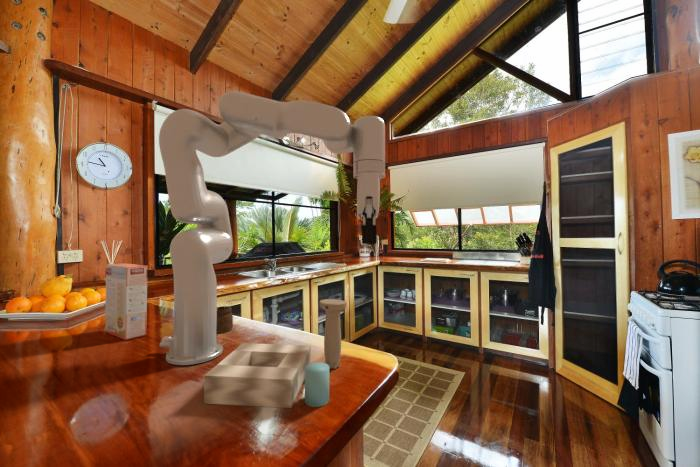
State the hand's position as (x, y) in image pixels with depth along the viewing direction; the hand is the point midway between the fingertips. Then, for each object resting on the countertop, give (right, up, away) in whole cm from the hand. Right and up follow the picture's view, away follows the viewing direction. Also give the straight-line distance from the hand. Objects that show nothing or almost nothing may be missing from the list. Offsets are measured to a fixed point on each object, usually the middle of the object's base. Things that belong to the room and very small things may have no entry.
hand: (369, 243), depth 71 cm
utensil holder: (-45, -28, +23) cm, 58 cm away
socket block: (-22, -28, -10) cm, 37 cm away
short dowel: (-11, -28, -16) cm, 34 cm away
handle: (-9, -29, -2) cm, 30 cm away
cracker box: (-72, -28, +19) cm, 80 cm away
